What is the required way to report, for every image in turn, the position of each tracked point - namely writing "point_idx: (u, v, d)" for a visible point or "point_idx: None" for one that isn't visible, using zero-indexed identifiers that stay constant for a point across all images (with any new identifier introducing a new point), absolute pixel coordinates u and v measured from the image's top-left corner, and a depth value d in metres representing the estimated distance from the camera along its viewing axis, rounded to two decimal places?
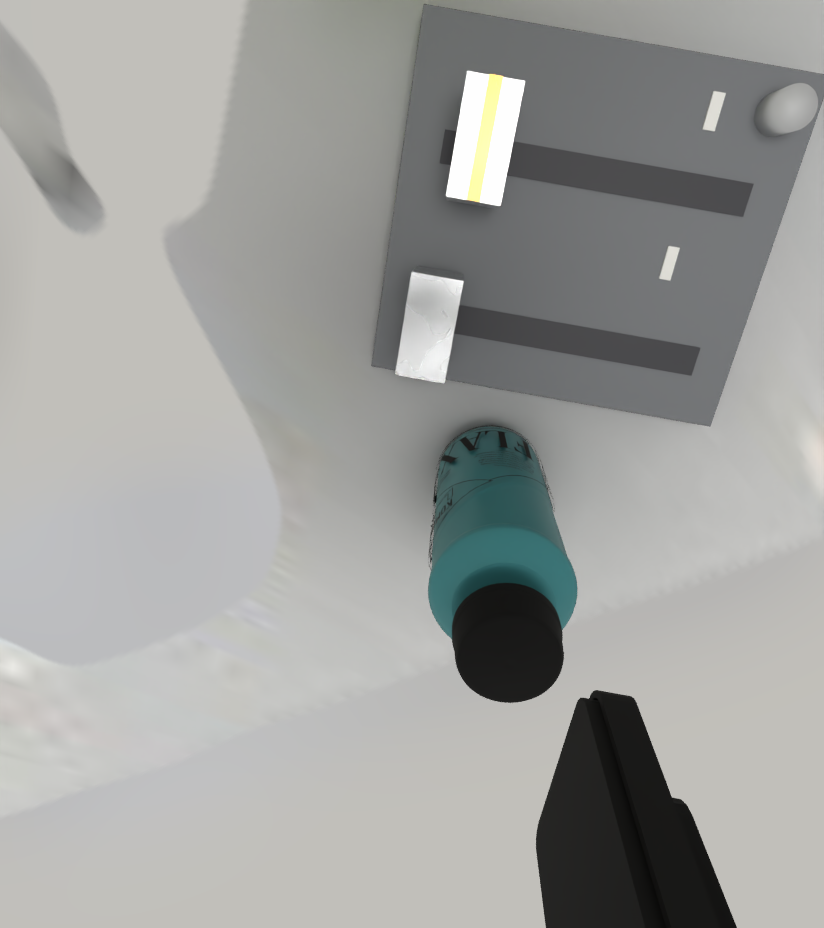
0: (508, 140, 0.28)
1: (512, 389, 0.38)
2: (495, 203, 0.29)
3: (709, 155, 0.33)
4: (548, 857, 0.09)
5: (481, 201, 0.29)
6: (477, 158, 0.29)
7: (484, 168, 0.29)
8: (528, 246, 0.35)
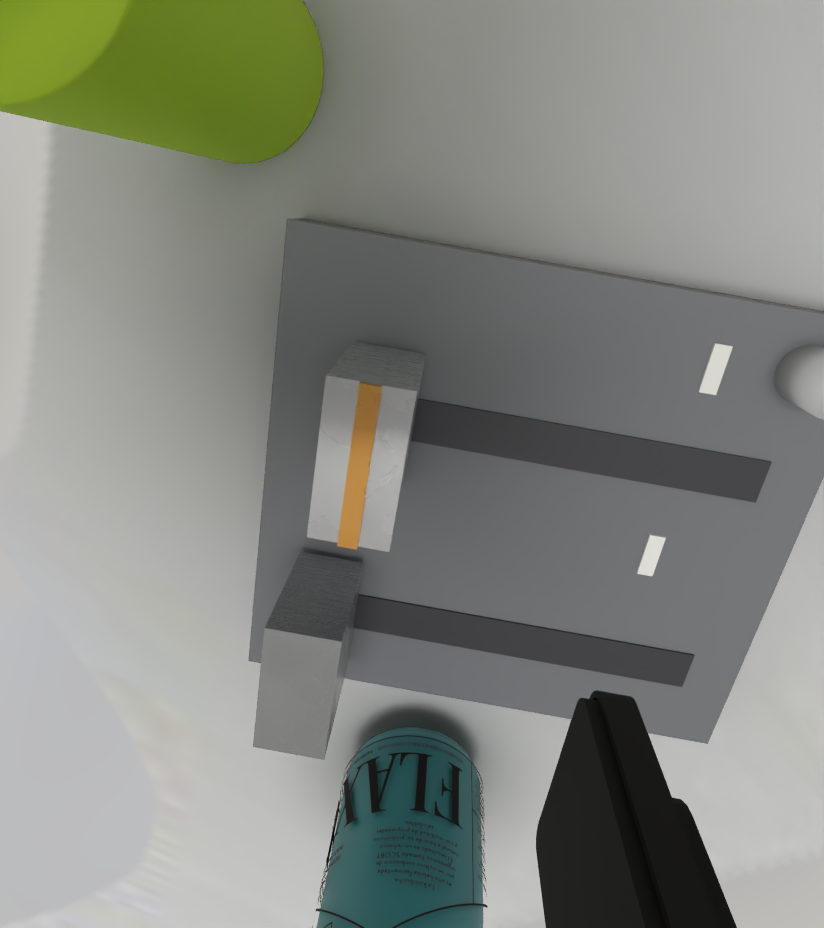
0: (395, 468, 0.18)
1: (439, 693, 0.28)
2: (381, 548, 0.19)
3: (708, 424, 0.23)
4: (548, 857, 0.09)
5: (360, 545, 0.19)
6: (349, 493, 0.19)
7: (360, 507, 0.19)
8: (454, 529, 0.25)
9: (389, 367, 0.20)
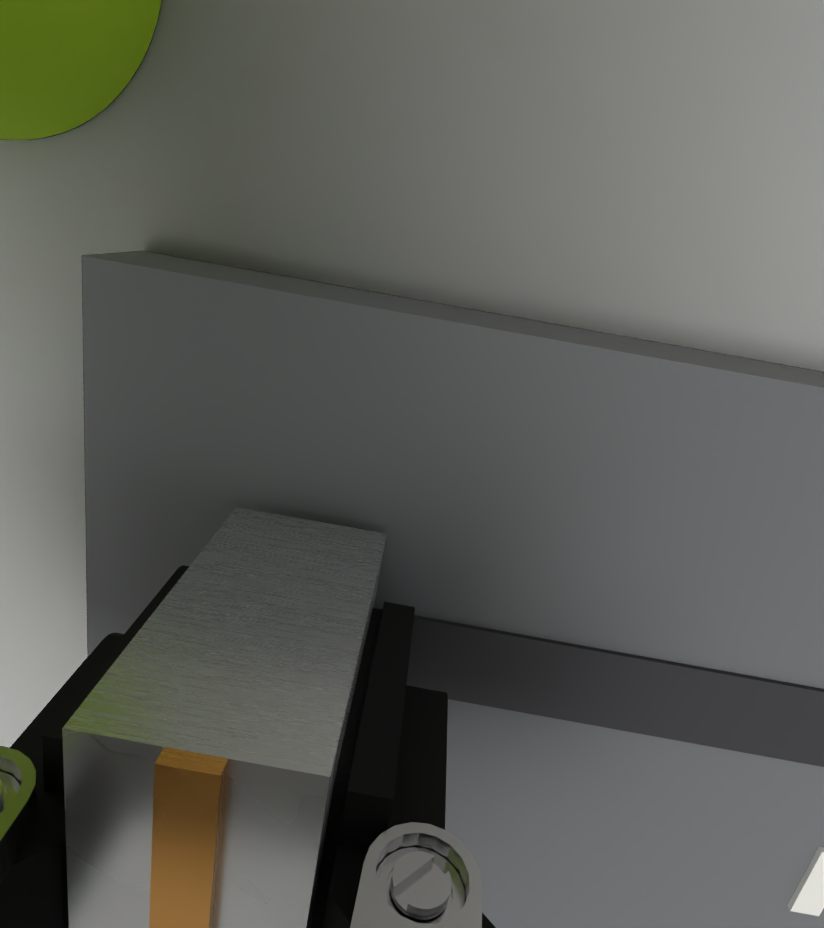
0: None
1: None
2: None
3: None
4: None
5: None
6: None
7: None
8: (446, 827, 0.13)
9: (283, 621, 0.08)
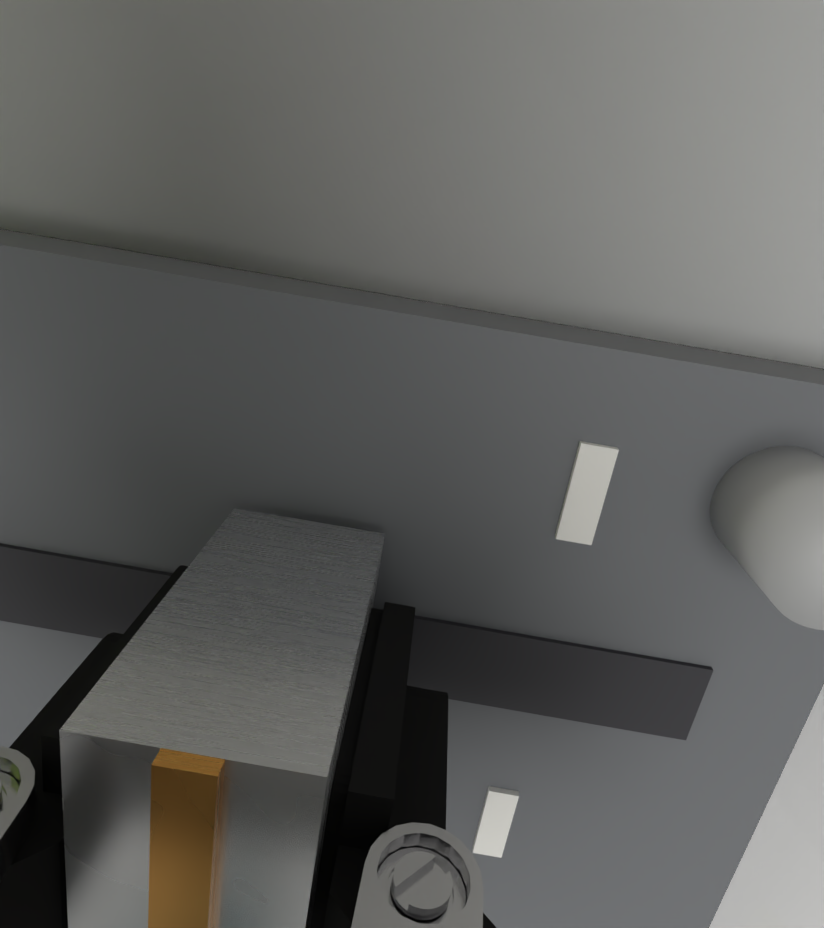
0: None
1: None
2: None
3: (582, 598, 0.11)
4: None
5: None
6: None
7: None
8: None
9: (281, 622, 0.08)
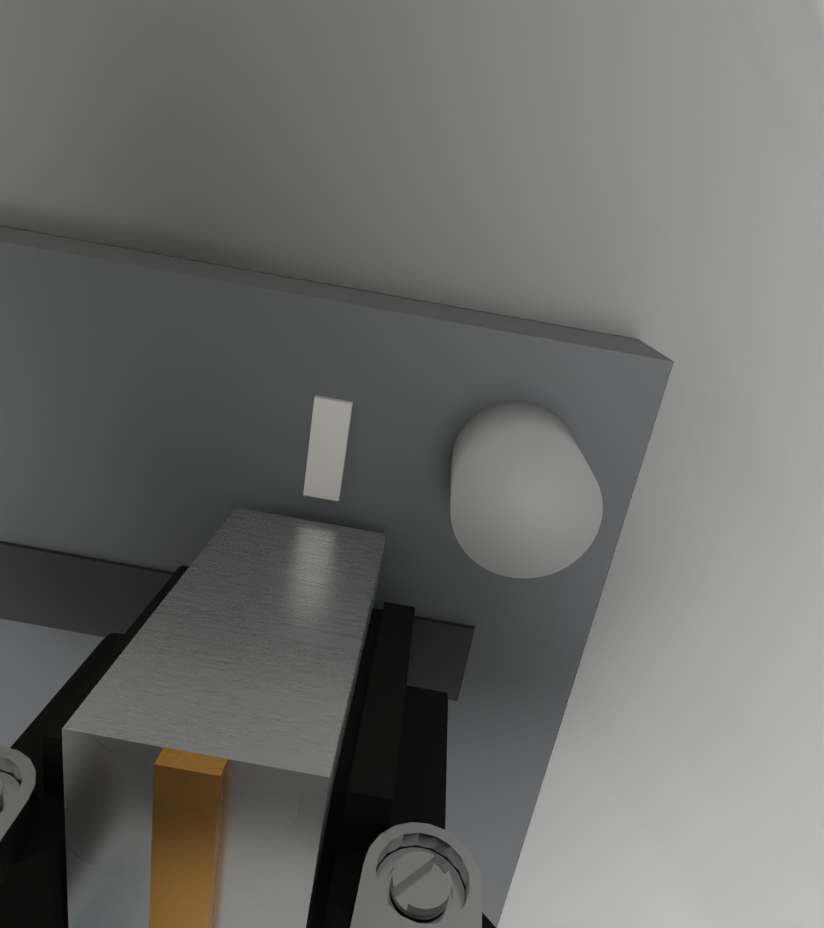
0: None
1: None
2: None
3: None
4: None
5: None
6: None
7: None
8: None
9: (282, 623, 0.08)
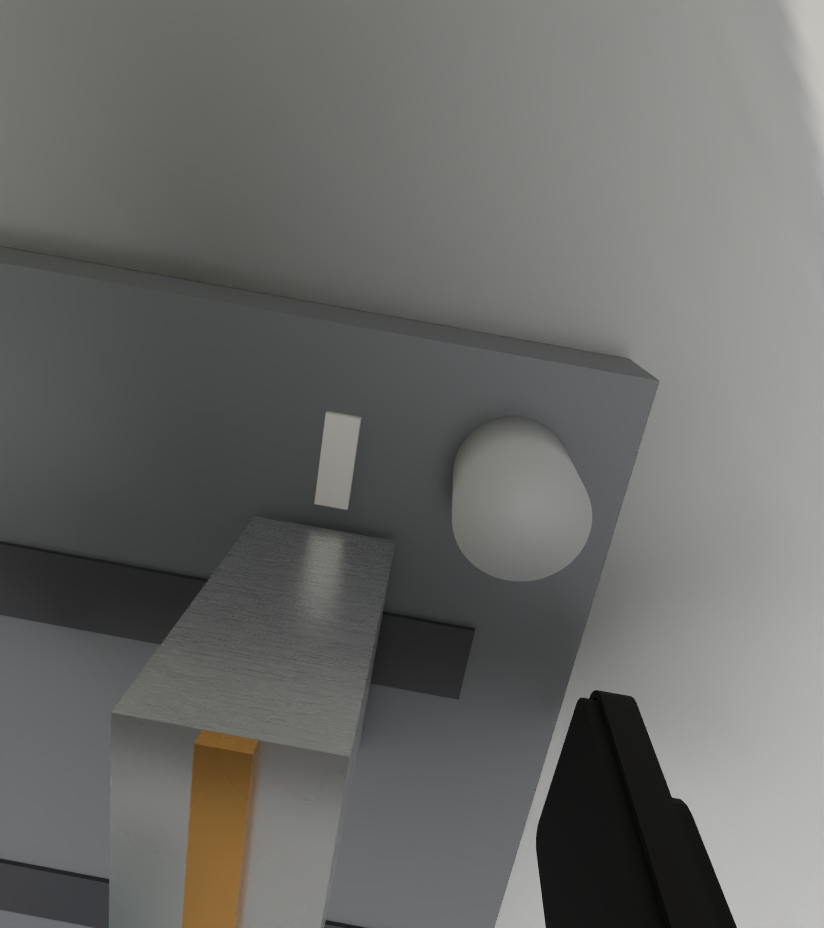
0: (302, 910, 0.07)
1: None
2: None
3: None
4: (548, 857, 0.09)
5: None
6: None
7: None
8: None
9: (303, 622, 0.09)
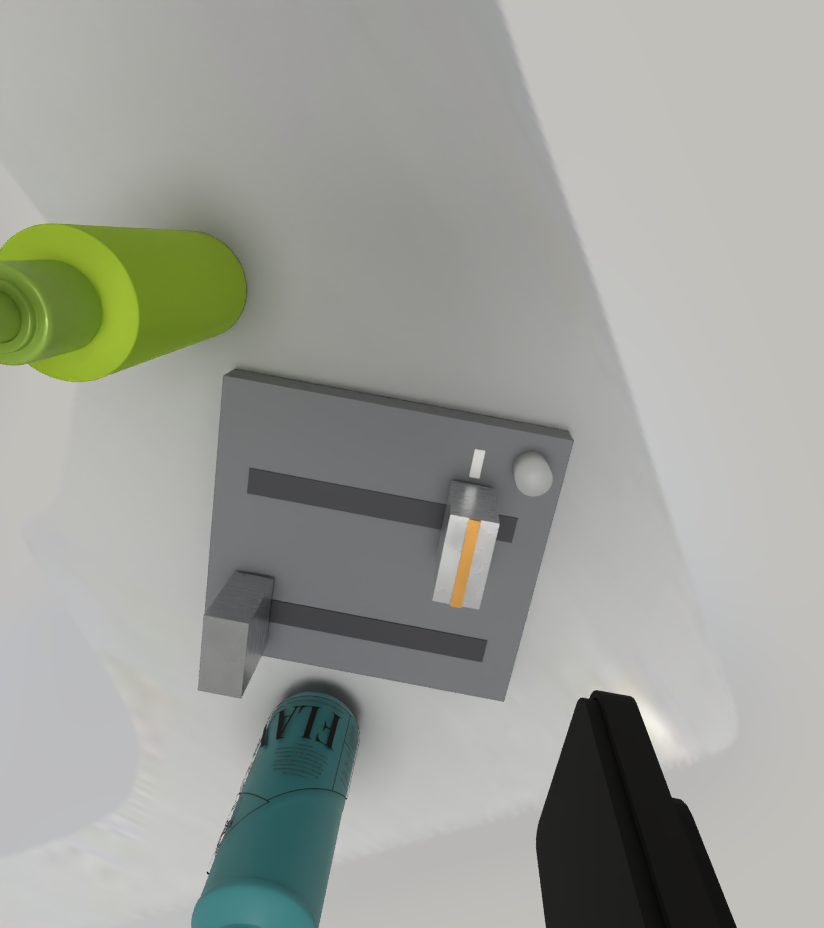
0: (485, 563, 0.33)
1: (327, 666, 0.42)
2: (475, 607, 0.34)
3: None
4: (548, 857, 0.09)
5: (462, 605, 0.34)
6: (459, 577, 0.33)
7: (465, 585, 0.33)
8: (330, 558, 0.40)
9: (478, 503, 0.34)
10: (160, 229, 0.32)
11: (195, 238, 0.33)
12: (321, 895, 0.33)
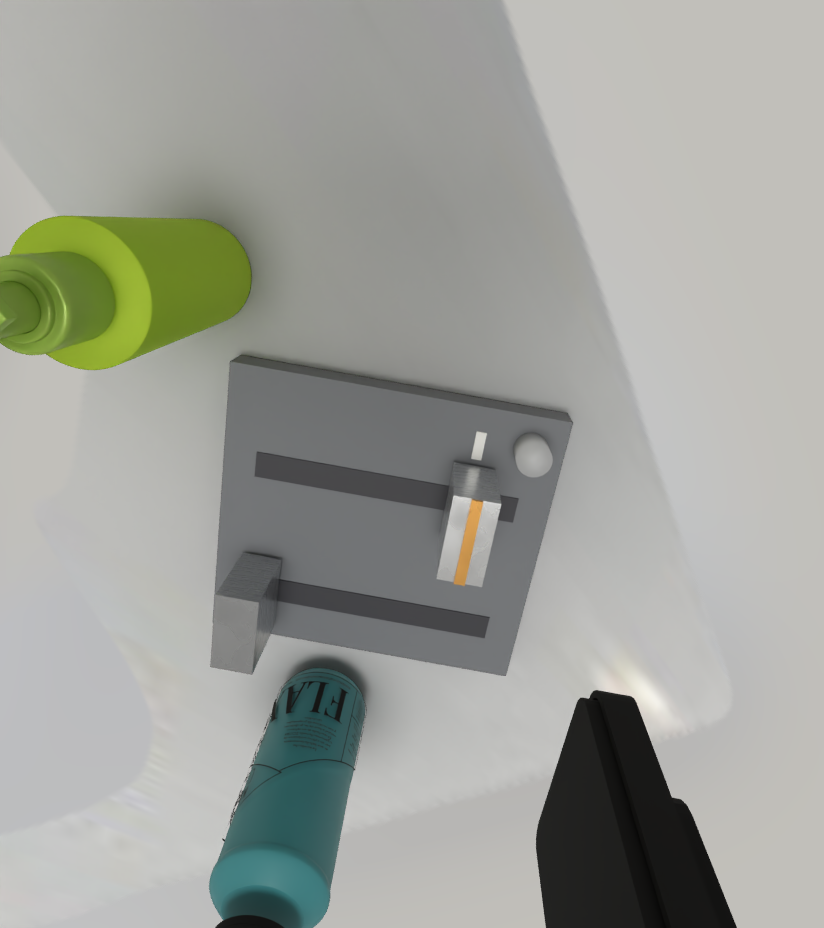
0: (487, 542, 0.34)
1: (334, 643, 0.43)
2: (477, 585, 0.35)
3: None
4: (548, 857, 0.09)
5: (466, 583, 0.35)
6: (462, 555, 0.34)
7: (468, 563, 0.34)
8: (336, 538, 0.41)
9: (481, 484, 0.35)
10: (167, 218, 0.32)
11: (201, 226, 0.34)
12: (332, 859, 0.34)
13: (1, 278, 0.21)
